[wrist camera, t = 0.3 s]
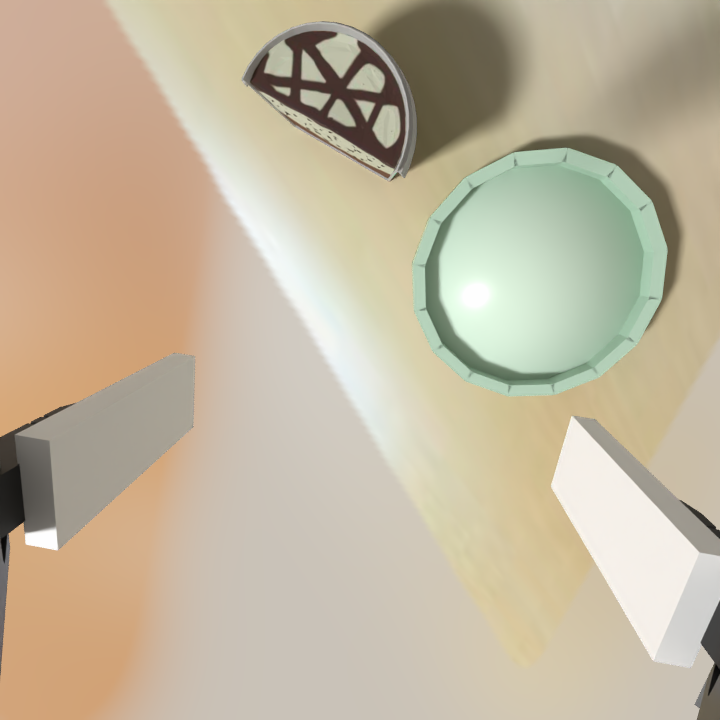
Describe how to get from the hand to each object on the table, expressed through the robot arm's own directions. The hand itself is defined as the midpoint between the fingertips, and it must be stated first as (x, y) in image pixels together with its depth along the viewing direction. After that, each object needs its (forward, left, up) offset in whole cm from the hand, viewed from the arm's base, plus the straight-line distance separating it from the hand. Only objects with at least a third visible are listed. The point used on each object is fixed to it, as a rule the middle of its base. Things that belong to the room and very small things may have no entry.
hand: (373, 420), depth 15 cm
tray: (-2, +12, -26) cm, 29 cm away
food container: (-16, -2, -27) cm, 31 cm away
